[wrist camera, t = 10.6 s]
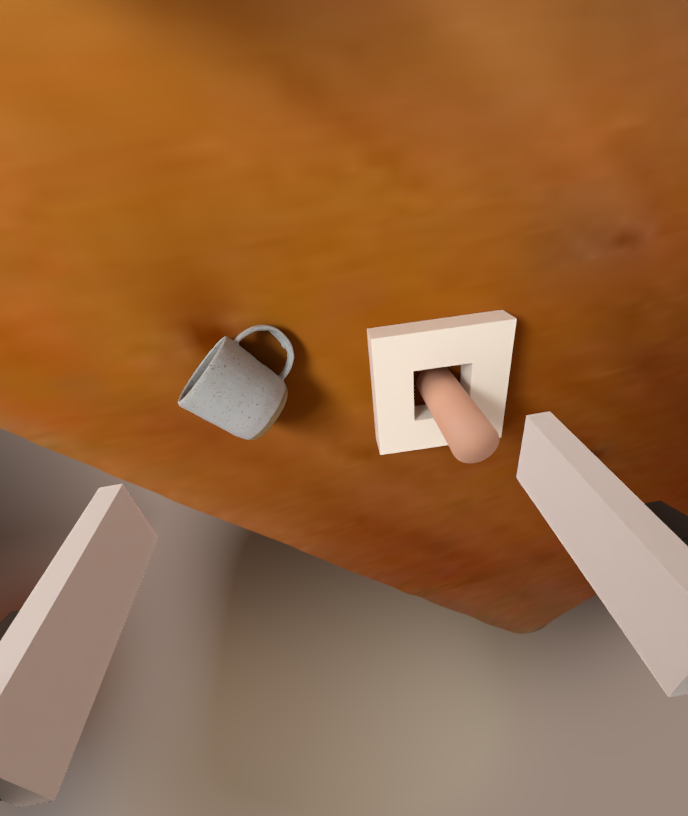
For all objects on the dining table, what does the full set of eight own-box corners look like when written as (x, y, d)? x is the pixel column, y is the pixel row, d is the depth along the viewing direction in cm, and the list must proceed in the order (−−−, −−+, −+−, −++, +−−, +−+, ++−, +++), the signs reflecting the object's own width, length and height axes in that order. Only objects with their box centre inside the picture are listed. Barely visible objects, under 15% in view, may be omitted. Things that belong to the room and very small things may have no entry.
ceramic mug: (254, 419, 42) (245, 462, 35) (188, 378, 39) (165, 416, 32) (313, 351, 38) (315, 384, 32) (246, 300, 35) (234, 325, 29)
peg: (415, 366, 40) (453, 428, 30) (452, 361, 40) (501, 421, 30) (416, 398, 42) (451, 466, 32) (450, 393, 42) (496, 459, 32)
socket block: (366, 328, 37) (370, 339, 35) (502, 309, 38) (516, 318, 35) (376, 439, 45) (380, 454, 42) (490, 423, 45) (501, 437, 42)
